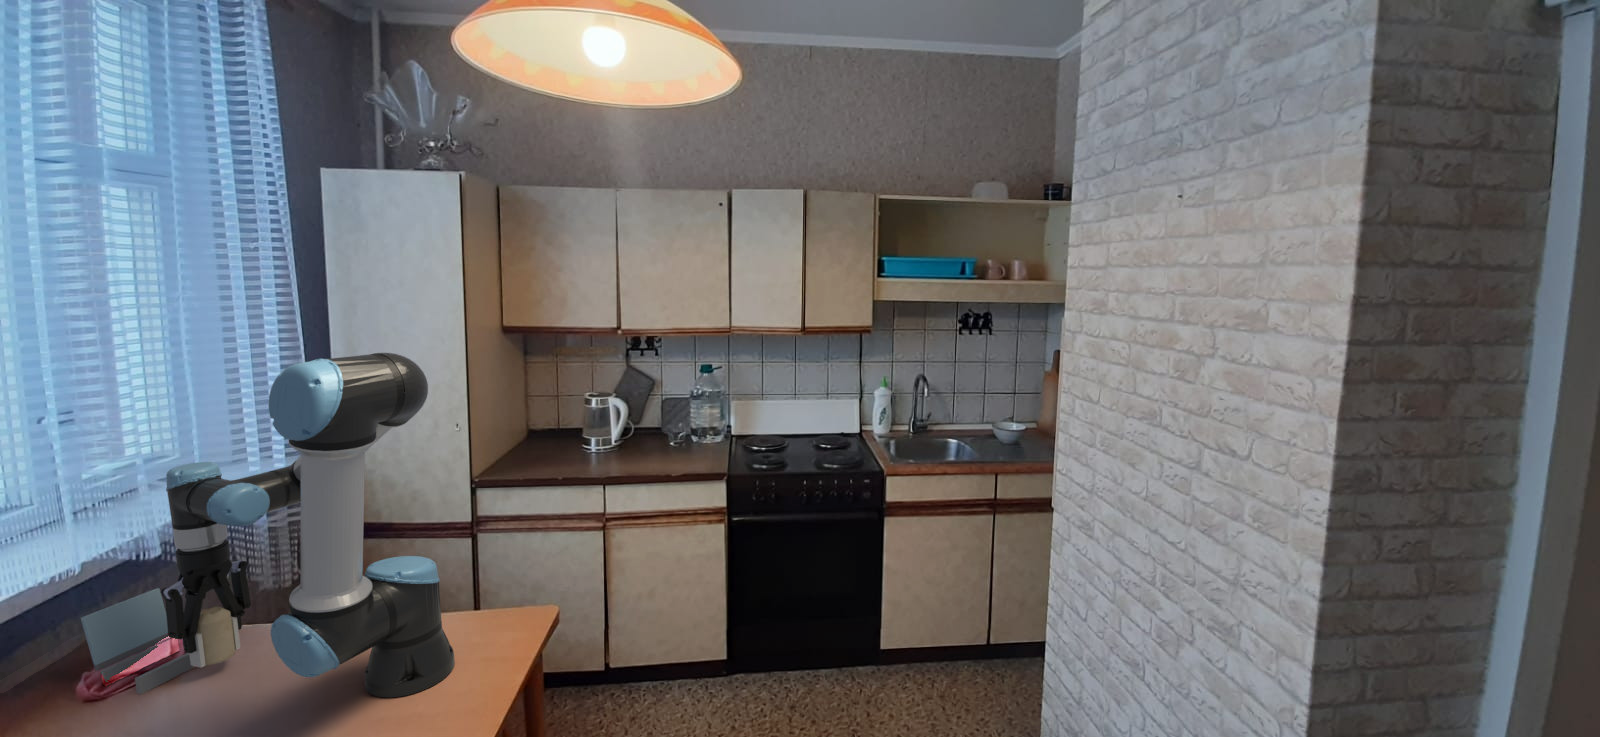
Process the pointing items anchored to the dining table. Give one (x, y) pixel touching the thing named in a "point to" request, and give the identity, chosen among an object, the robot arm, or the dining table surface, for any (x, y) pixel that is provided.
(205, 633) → the candle
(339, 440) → the robot arm
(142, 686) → the grey panel stand
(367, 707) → the dining table surface
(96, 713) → the dining table surface
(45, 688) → the dining table surface
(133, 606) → the cover
